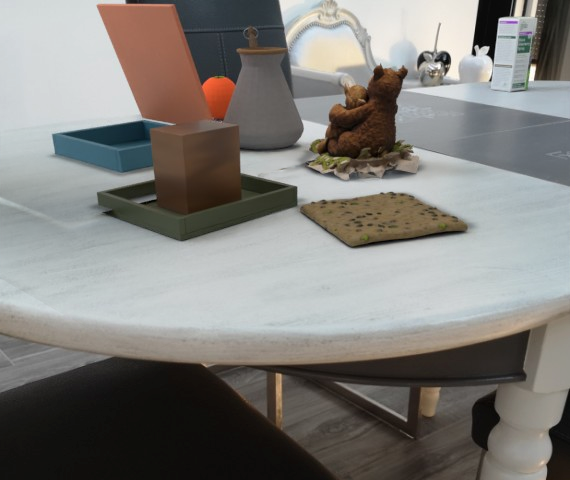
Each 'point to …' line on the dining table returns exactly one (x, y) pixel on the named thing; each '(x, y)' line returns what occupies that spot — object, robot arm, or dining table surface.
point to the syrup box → (513, 53)
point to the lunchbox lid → (156, 61)
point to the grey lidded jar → (263, 100)
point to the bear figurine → (365, 131)
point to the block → (196, 165)
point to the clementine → (218, 95)
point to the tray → (255, 203)
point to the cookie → (380, 218)
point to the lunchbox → (110, 145)
